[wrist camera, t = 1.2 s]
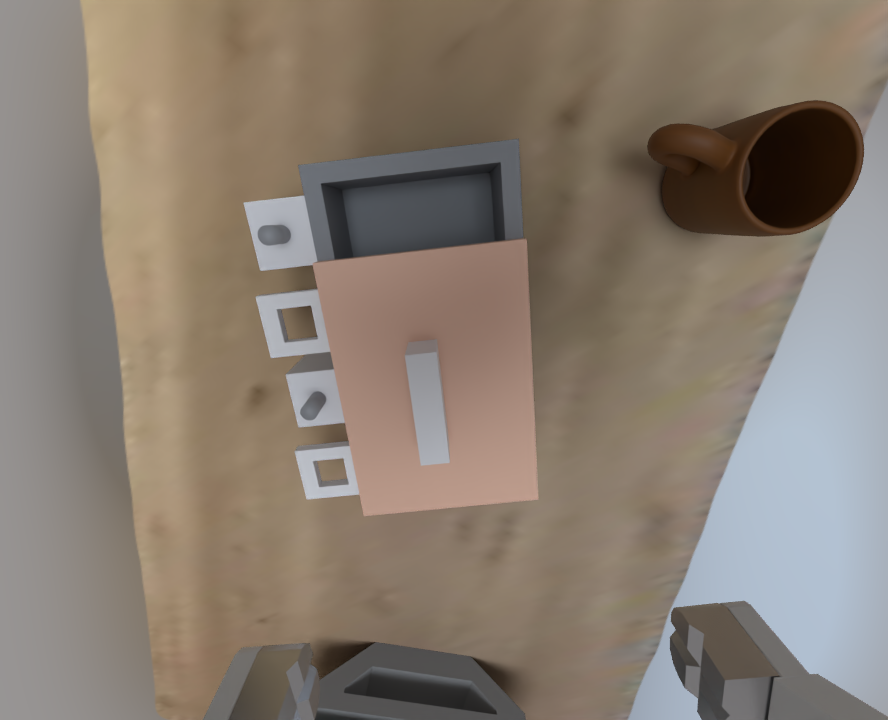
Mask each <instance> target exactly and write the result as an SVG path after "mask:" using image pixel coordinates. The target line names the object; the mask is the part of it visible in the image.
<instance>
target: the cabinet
mask: <svg viewBox="0 0 888 720" xmlns="http://www.w3.org/2000/svg"><path fill="white" fill-rule="evenodd" d="M298 167H299V172H300V177H301V182H302V187H303V192H304V196H296V197H287V198H279V199H270V200H262V201H253V202H245V203H244V206H245V210H246V214H247V218H248V222H249V227H250V231H251V235H252V239H253V243H254V247H255V251H256V255H257V259H258V263H259V267H260V271H264V270H273V269H282V268H291V267H300V266H309V265H313V264H312V263H314V262H317V261H326V260H335V259H344V258H353V257H361V256H370V255H379V254H388V253H397V252H406V251H414V250H423V249H432V248H441V247H450V246H459V245H468V244H476V243H485V242H494V241H503V240H512V239H521V238H523V220H522V199H521V178H520V156H519V139H513V140H505V141H497V142H488V143H480V144H471V145H463V146H455V147H446V148H438V149H430V150H421V151H413V152H405V153H396V154H388V155H380V156H371V157H363V158H355V159H346V160H338V161H329V162H321V163H313V164H304V165H298ZM286 378H287V382H288V386H289V390H290V394H291V398H292V402H293V406H294V411H295V415H296V419H297V423H298V427H308V426H318V425H328V424H338V423H345V421H344V416H343V411H342V406H341V401H340V396H339V391H338V387H337V382H336V377H335V372H334V367H333V362H332V357H331V352H323V353H314V354H306V355H305V356H304V357H303V358H302V359H301V360H300V361H299V362H298V363H297V364H296V365H295V366H294V367H293V368H292V369H291V370H290V371H289V372H288V373H287V374H286Z"/></svg>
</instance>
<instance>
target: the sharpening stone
mask: <svg viewBox="0 0 888 720" xmlns="http://www.w3.org/2000/svg"><path fill="white" fill-rule="evenodd" d="M319 681H320V695H319V705H318V709H317V713H316V717H315V720H526V719H525V713H524V712H523V711H522V710H521V709H520V708H519V707H518V706H517V705H516V704H515V703H514V702H513V701H512V700H511V699H510V698H509V697H508V695H507V694H506V693H505V692H504V691H503V690H502V689H501V688H500V687H499V686H498V685H497V684H496V683H495V682H494V681H493V680H492V679H491V678H490V676H489V675H488V674H487V673H486V672H485V671H484V670H483V669H482V668H481V667H480V666H479V665H478V664H477V663H476V662H475V661H474V660H473V659H472V657H470V656H464V655H457V654H451V653H444V652H438V651H431V650H424V649H418V648H411V647H405V646H398V645H391V644H385V643H378V642H375V643H374V644H372V645H371V646H369V647H368V648H366V649H365V650H363V651H362V652H360V653H359V654H357V655H356V656H355V657H353V658H352V659H350V660H349V661H347V662H346V663H344V664H343V665H341V666H340V667H338V668H337V669H335V670H334V671H332V672H331V673H329V674H328V675H326V676H325V677H323V678H322V679H320V680H319Z"/></svg>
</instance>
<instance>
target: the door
mask: <svg viewBox="0 0 888 720" xmlns="http://www.w3.org/2000/svg"><path fill="white" fill-rule="evenodd" d="M312 264H313V269H314V274H315V279H316V284H317V289H308V290H299V291H290V292H281V293H272V294H263V295H259V296H256V301H257V304H258V308H259V312H260V316H261V320H262V324H263V328H264V332H265V336H266V340H267V344H268V348H269V352H270V356H271V358H277V357H286V356H295V355H305V354H314V353H323V352H331V357H332V362H333V367H334V372H335V377H336V382H337V387H338V391H339V396H340V401H341V406H342V411H343V416H344V421H345V426H346V431H347V435H348V440H349V441H344V442H334V443H324V444H314V445H304V446H298V447H297V449H296V450H295V455H296V459H297V463H298V467H299V470H300V474H301V478H302V482H303V486H304V490H305V494H306V498H307V499H316V498H326V497H337V496H347V495H357V494H360V499H361V504H362V509H363V514H364V516H370V515H380V514H391V513H401V512H412V511H422V510H433V509H443V508H454V507H464V506H475V505H485V504H496V503H506V502H517V501H527V500H538V481H537V458H536V435H535V413H534V390H533V367H532V345H531V322H530V300H529V277H528V254H527V239H525V238H521V239H512V240H503V241H494V242H485V243H476V244H468V245H459V246H450V247H441V248H432V249H423V250H414V251H406V252H397V253H388V254H379V255H370V256H361V257H353V258H344V259H335V260H326V261H317V262H314V263H312ZM302 306H311V308H312V313H313V318H314V322H315V327H316V332H317V336H318V337H309V338H300V339H291V340H288V336H287V332H286V328H285V323H284V319H283V315H282V311H281V309H284V308H293V307H302ZM340 458H343V459H344V464H345V468H346V473H347V478H348V479H341V480H331V481H322V480H321V476H320V472H319V468H318V463H317V461H320V460H330V459H340Z"/></svg>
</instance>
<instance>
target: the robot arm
mask: <svg viewBox="0 0 888 720" xmlns="http://www.w3.org/2000/svg"><path fill="white" fill-rule="evenodd" d="M671 622H672V624H673V625H674V627H675V629H676V631H675V632H674V633H673V634H672V635H671V637H670V651H671V655H672V660H673V664H674V666H675V669H676V671H677V673H678V676H679V678H680V680H681V682H682V683H683V686H684V687H685V688H686V689H687V690H688V691H689V692H690V693H692V694H693V695H694V696H696V697H697V698H698V710H697V712H698V713H699V715H700V717H701V719H702V720H888V717H887V716H886V715H884V714H882V713H881V712H879V711H877V710H876V709H874V708H872V707H871V706H869V705H868V704H866V703H864V702H863V701H861V700H859V699H858V698H856V697H854V696H853V695H851V694H849V693H848V692H846V691H845V690H843V689H841V688H839V687H838V686H836V685H835V684H833V683H831V682H830V681H828V680H826V679H825V678H823V677H822V676H820V675H818V674H809V673H808V672H807V671H806V670H805V669H804V667H803V666H802V665H801V664H800V663H799V661H798V660H797V659H796V658H795V657H794V655H793V654H792V653H791V652H790V651H789V650H788V648H787V647H786V646H785V645H784V644H783V642H782V641H781V640H780V639H779V638H778V637H777V636H776V634H775V633H774V632H773V631H772V630H771V628H770V627H769V626H768V625H767V624H766V623H765V621H764V620H763V619H762V618H761V617H760V615H759V614H758V613H757V612H756V611H755V610H754V608H753V607H752V606H751V605H750V604H748V603H747V602H745V601H738V602H728V603H720V604H718V603H714V604H704V605H695V606H686V607H676V608H674V609H673V611H672V614H671ZM312 657H313V652H312V649H311V646H310V643H300V644H284V645H268V646H256V647H243V648H241V649H240V650H239V651H238V652H237V653H236V655H235V656H234V658H233V660H232V662H231V664H230V666H229V668H228V670H227V672H226V674H225V676H224V678H223V680H222V682H221V684H220V686H219V688H218V690H217V692H216V694H215V696H214V698H213V700H212V702H211V704H210V706H209V709H208V711H207V713H206V715H205V717H204V719H203V720H315V717H316V713H317V709H318V705H319V695H320V681H319V675H318V671H317V669H316V668H315V667H314V666H312V665H311V664H310V663H311V660H312Z"/></svg>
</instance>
